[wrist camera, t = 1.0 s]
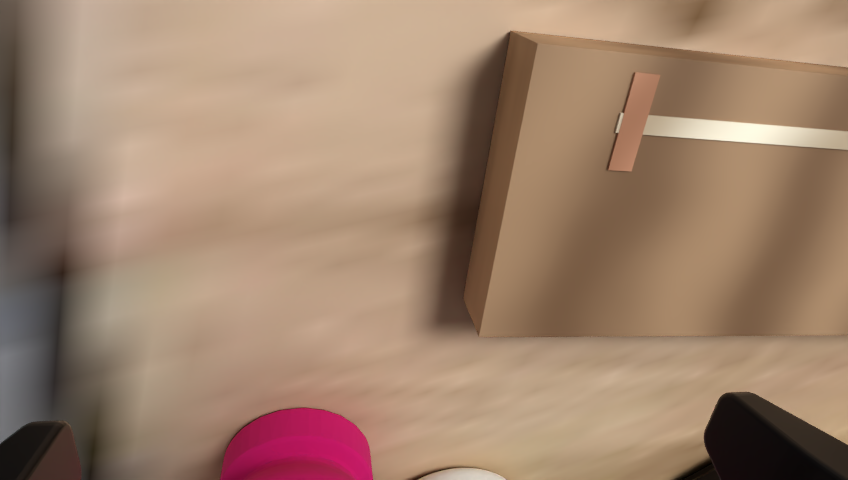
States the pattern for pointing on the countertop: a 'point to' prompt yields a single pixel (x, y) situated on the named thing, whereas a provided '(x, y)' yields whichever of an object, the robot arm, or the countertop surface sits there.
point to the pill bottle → (463, 475)
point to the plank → (661, 195)
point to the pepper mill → (298, 448)
